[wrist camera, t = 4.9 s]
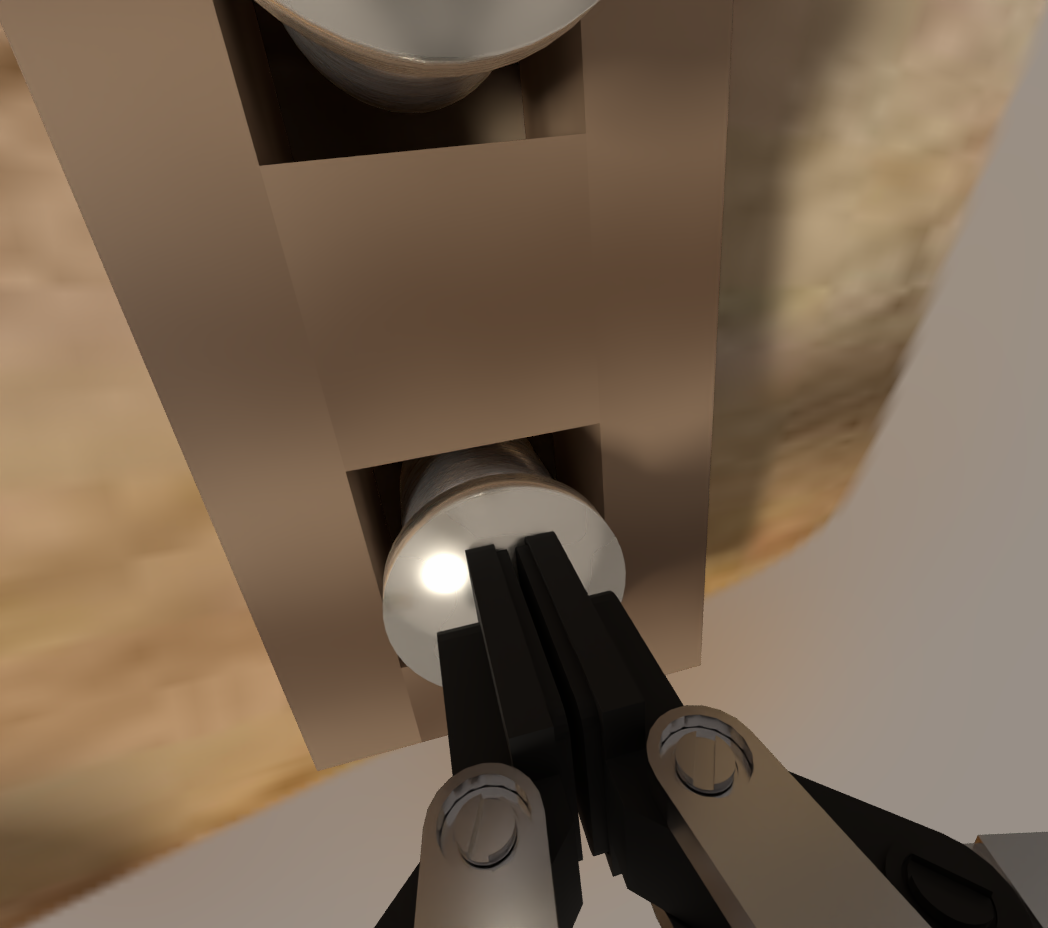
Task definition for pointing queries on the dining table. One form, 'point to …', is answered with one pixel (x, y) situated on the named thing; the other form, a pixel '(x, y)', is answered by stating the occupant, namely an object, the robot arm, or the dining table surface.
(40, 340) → the dining table surface
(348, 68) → the knob
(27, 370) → the dining table surface
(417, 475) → the knob
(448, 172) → the mount board
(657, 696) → the robot arm
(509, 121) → the dining table surface
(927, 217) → the dining table surface
